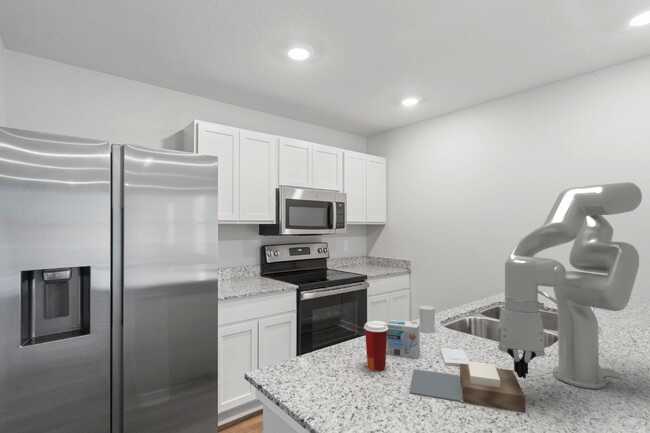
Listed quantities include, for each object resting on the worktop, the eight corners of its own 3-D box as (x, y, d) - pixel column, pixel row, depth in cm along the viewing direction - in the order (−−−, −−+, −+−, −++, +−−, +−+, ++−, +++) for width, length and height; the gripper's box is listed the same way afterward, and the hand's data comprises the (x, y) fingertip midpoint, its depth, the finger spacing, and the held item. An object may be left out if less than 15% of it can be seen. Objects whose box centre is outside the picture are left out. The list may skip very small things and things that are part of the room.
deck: (512, 384, 95) (512, 370, 95) (525, 412, 80) (525, 396, 80) (460, 376, 99) (459, 363, 99) (463, 402, 85) (463, 386, 85)
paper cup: (391, 365, 107) (390, 322, 108) (385, 375, 100) (384, 328, 101) (368, 361, 111) (367, 319, 111) (360, 370, 104) (360, 325, 104)
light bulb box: (386, 354, 116) (386, 323, 117) (390, 348, 123) (390, 318, 123) (418, 359, 112) (417, 327, 113) (420, 352, 119) (419, 321, 119)
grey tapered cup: (437, 333, 138) (437, 309, 138) (421, 333, 138) (421, 309, 138) (432, 328, 145) (432, 305, 145) (417, 328, 145) (417, 305, 145)
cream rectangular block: (494, 371, 94) (494, 364, 94) (500, 387, 84) (500, 380, 85) (467, 367, 96) (467, 360, 96) (470, 383, 87) (470, 375, 87)
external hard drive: (463, 354, 118) (472, 369, 106) (439, 352, 120) (445, 367, 107) (463, 349, 118) (471, 363, 106) (439, 347, 120) (445, 361, 107)
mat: (458, 376, 99) (458, 375, 99) (461, 402, 85) (461, 400, 85) (413, 370, 104) (413, 369, 104) (409, 393, 90) (409, 392, 90)
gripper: (549, 305, 89) (549, 374, 88) (487, 300, 94) (487, 365, 93) (558, 311, 82) (559, 387, 81) (491, 306, 87) (491, 376, 86)
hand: (520, 375), depth 87 cm, fingers closed
